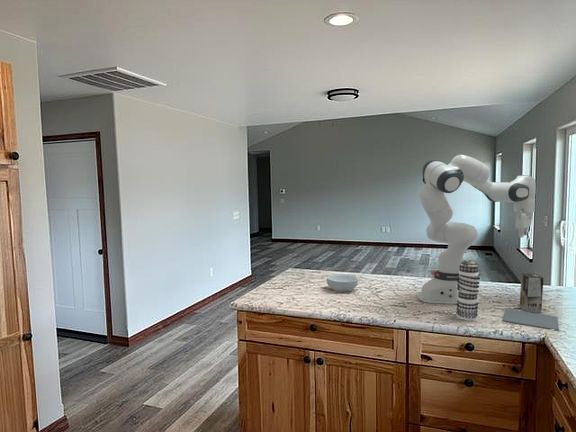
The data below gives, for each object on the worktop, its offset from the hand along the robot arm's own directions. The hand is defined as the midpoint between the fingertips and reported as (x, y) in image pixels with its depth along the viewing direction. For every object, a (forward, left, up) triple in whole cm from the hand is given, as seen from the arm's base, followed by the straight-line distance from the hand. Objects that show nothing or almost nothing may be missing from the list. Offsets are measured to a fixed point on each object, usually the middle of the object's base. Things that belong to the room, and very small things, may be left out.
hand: (522, 236), depth 197 cm
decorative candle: (-39, -24, -32) cm, 56 cm away
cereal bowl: (-86, +21, -32) cm, 94 cm away
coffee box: (-5, -15, -32) cm, 36 cm away
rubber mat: (-14, -29, -32) cm, 45 cm away
